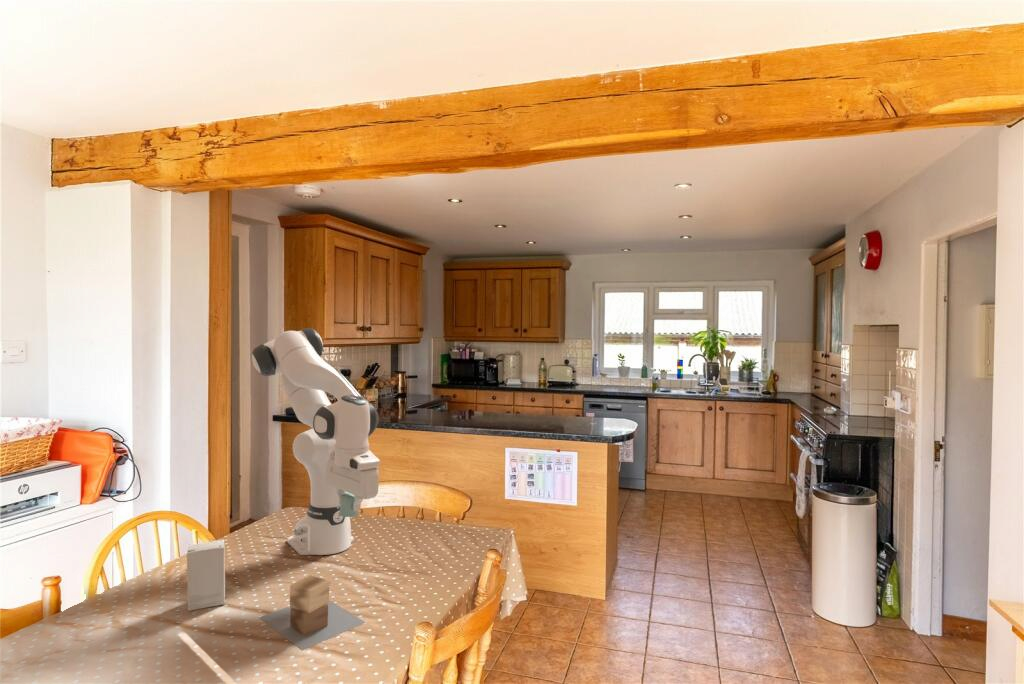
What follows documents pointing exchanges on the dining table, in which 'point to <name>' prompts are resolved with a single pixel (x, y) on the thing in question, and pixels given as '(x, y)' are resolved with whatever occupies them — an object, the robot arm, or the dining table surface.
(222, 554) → the skincare box
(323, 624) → the bottom block
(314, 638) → the board
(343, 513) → the mint green cylinder
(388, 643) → the dining table surface
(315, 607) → the top block
